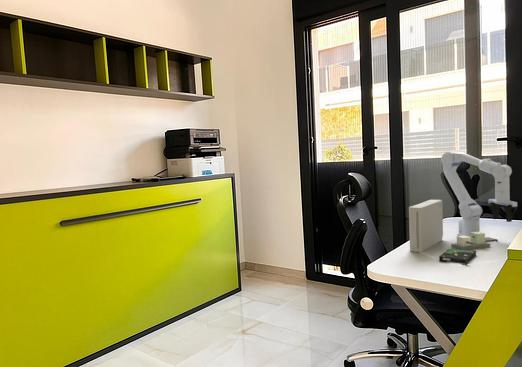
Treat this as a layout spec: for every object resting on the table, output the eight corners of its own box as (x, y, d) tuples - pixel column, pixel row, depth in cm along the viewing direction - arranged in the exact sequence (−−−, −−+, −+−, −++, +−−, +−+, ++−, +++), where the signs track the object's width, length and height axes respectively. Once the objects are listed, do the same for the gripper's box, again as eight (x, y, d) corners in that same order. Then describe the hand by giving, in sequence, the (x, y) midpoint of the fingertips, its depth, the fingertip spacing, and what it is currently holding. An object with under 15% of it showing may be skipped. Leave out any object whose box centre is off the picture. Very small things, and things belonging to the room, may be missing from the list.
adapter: (456, 247, 178) (456, 236, 177) (464, 246, 179) (464, 235, 178) (468, 251, 171) (468, 239, 170) (476, 250, 171) (476, 238, 171)
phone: (468, 241, 189) (468, 239, 188) (488, 239, 191) (488, 236, 191) (477, 244, 183) (477, 241, 183) (497, 241, 186) (497, 239, 185)
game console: (408, 251, 178) (407, 207, 176) (430, 239, 197) (430, 199, 196) (421, 253, 174) (420, 207, 172) (443, 240, 193) (442, 199, 192)
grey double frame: (451, 247, 179) (451, 242, 179) (478, 244, 182) (478, 239, 182) (462, 251, 172) (462, 246, 172) (490, 248, 175) (490, 243, 175)
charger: (478, 244, 180) (478, 231, 180) (484, 246, 176) (484, 233, 176) (470, 245, 179) (470, 232, 179) (477, 247, 175) (476, 234, 175)
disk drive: (467, 266, 153) (476, 257, 165) (467, 259, 153) (476, 250, 164) (438, 262, 160) (449, 253, 171) (438, 256, 160) (449, 247, 171)
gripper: (482, 190, 190) (483, 218, 191) (507, 193, 176) (507, 223, 177) (495, 189, 192) (495, 217, 193) (521, 192, 178) (521, 222, 179)
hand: (502, 220), depth 185 cm, fingers open, 7 cm apart
